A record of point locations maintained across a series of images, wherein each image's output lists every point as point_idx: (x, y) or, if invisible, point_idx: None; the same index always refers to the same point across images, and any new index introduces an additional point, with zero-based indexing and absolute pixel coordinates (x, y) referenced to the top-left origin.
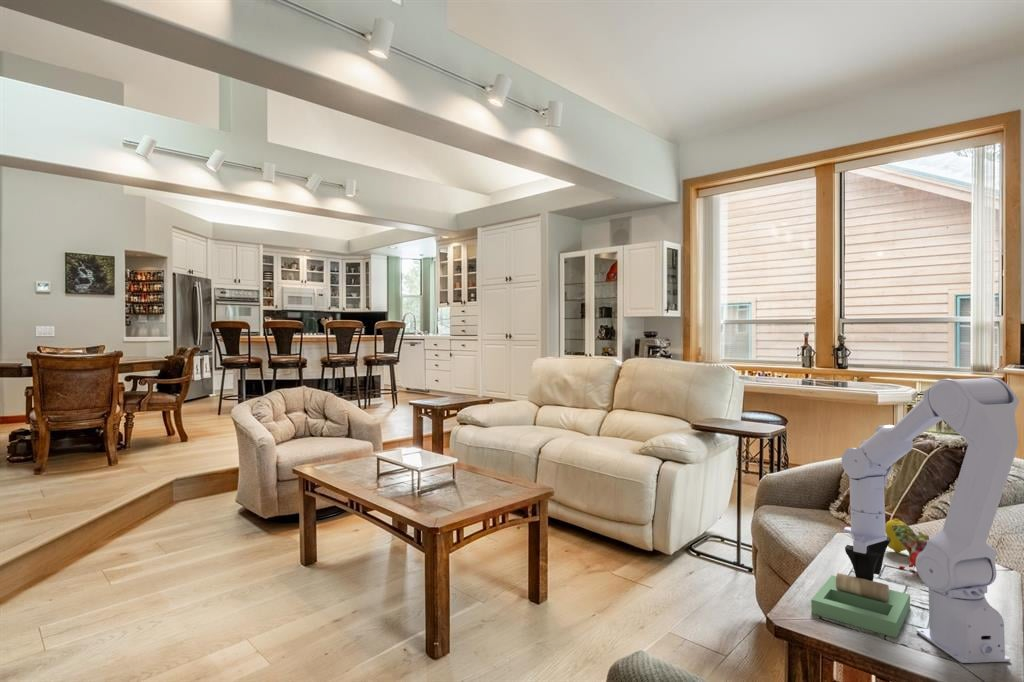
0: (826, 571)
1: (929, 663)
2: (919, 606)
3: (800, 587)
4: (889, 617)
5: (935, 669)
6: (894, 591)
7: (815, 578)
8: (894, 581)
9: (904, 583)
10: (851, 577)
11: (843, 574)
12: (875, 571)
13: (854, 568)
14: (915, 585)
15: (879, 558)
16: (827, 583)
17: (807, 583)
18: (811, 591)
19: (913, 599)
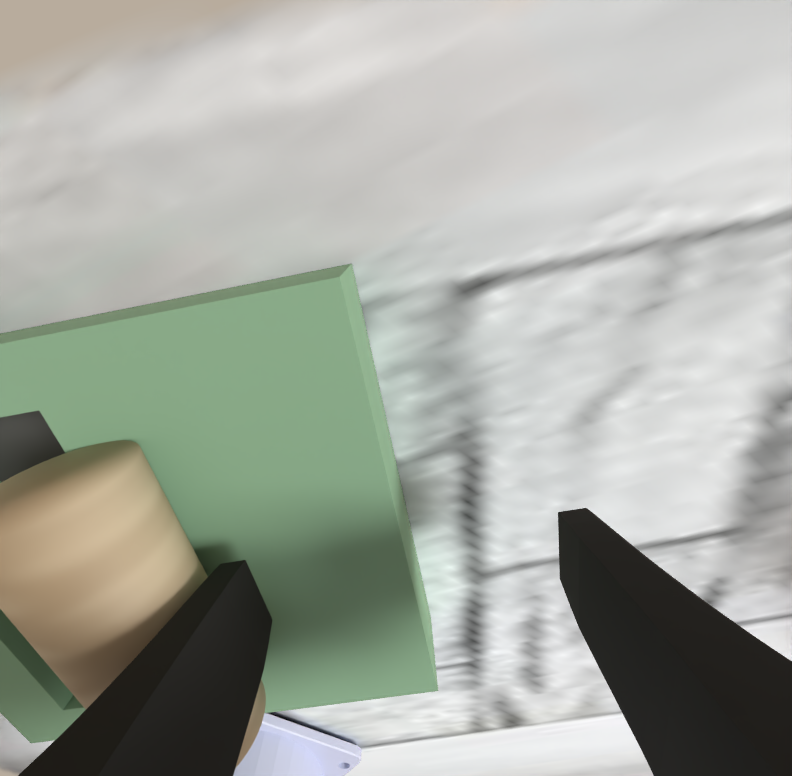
0: (694, 41)
1: (32, 749)
2: (481, 630)
3: (115, 63)
4: (54, 718)
5: (17, 762)
6: (411, 645)
7: (434, 54)
8: (765, 476)
9: (762, 516)
10: (43, 644)
11: (19, 586)
12: (568, 578)
13: (78, 724)
14: (762, 554)
15: (654, 749)
16: (113, 343)
17: (256, 62)
18: (138, 184)
19: (548, 598)
